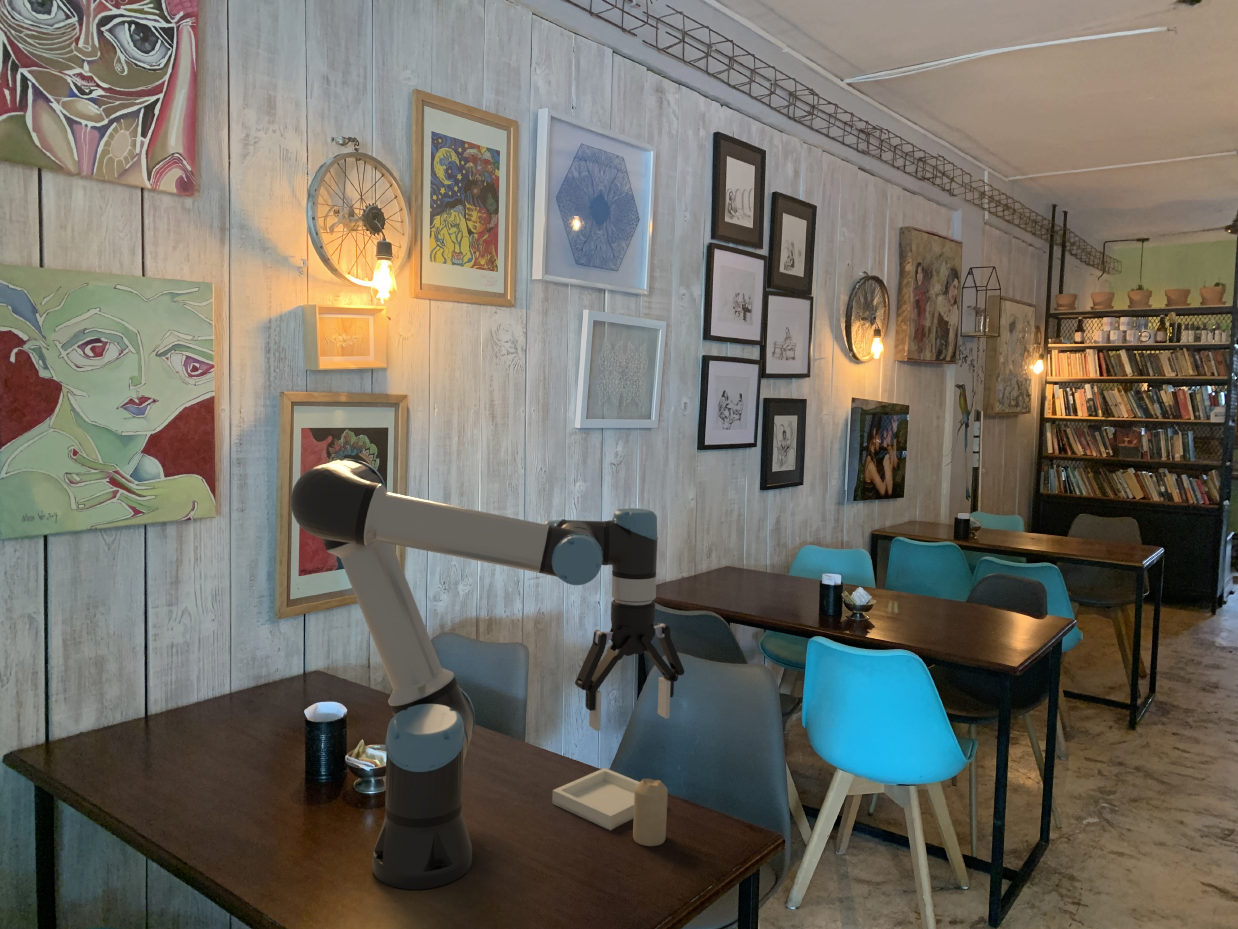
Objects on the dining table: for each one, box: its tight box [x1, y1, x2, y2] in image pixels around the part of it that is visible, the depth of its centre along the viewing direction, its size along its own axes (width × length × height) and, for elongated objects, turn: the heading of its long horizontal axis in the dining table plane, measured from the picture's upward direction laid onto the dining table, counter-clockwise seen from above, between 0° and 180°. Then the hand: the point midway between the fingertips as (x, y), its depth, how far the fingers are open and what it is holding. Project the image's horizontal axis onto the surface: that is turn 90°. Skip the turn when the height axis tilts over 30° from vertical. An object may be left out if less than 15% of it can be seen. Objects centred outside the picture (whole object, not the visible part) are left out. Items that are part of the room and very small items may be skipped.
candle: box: [632, 778, 669, 847], centre depth 148 cm, size 6×6×10 cm
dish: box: [551, 767, 641, 831], centre depth 160 cm, size 14×14×2 cm
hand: (629, 722), depth 151 cm, fingers open, 13 cm apart
